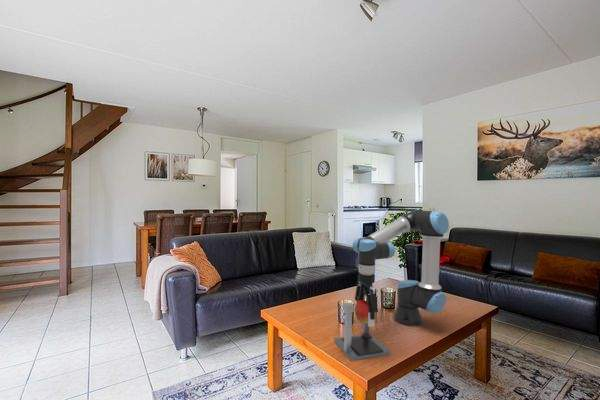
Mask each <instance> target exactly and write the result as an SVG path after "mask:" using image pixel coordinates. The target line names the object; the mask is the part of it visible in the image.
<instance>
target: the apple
mask: <svg viewBox="0 0 600 400" xmlns="http://www.w3.org/2000/svg"><path fill="white" fill-rule="evenodd" d="M368 311H369V306H368V301H367V300H365V299H363V300H359V301H358V302H357V301H356V303H355V304H354V314H355V315H354V316H355V317H356V319H358V321H359V322H360V323H362V324H363V325H364V324H368ZM376 316H377V312H375V318H376Z"/></svg>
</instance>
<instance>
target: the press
mask: <svg viewBox="0 0 600 400" xmlns="http://www.w3.org/2000/svg"><path fill="white" fill-rule="evenodd" d="M342 306H343V307H342V309H343V311H344V329H343V330H344V333H343V336H340V337H334V338H333V339H334V340H333V341H334V342H333V343H335V344H336V345H337V347H338V348H339V349H340V350H341V351H342V352H343V353H344V354H345V356H346V357H347V358H348V359H349V360H350V362H352V361H359V360H365V359H370V358H371V359H372V358H377V357H383V356H384V355H385V356H389V355H388V354H391V353H392V351H391V350H390V349H388V347H387V346H385V345H384V344H383V343H382V342H380V341H379V340H378V339H377V338H376V337H375V336H374V335H372V334H371V337H368V338H364V337H362V336H361V334H356V335H352V333H353V332H352V330H353V329H352V328H353V313H355V304H353V303H352V302H345V303H344V302H343V304H342ZM391 355H392V354H391Z"/></svg>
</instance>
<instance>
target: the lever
mask: <svg viewBox="0 0 600 400" xmlns="http://www.w3.org/2000/svg"><path fill="white" fill-rule="evenodd" d="M360 335H361V336H362V337H364V338H368V337H371V335H372V333H370V327H369V326H368V324H363V333H361V334H360Z"/></svg>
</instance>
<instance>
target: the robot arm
mask: <svg viewBox="0 0 600 400" xmlns="http://www.w3.org/2000/svg"><path fill="white" fill-rule="evenodd" d="M449 226H450V222H449V219H448V216H447V215H446V214H445V213H444V212H443V211H437V210H420V209H419V210H417V209H416V210H412V211H408V212H407V213H404V214H402V215H400V216H398V217H397V218H396V220H395V221H393V222H391V223H389V224H387V225H386V226H384V227H382V228H380V229H378V230H377V231H374V232H373V233H371V234H369V235H368V236H365V237H363V238H361V237H360V238H359V237H356V238H355V239H354V240H353V242H352V246H351V247H352V250H353V251H354V252H356V253H358V266H357V268H358V273H357V274H358V275H357V281H356V289H355V294H354V295H355V296H354V300H355V301H356V303H357V302H358V301H359V300H364V298H365V297H366V301H368V306H369V311H368V326H369V328H370V327H375V319H376V317H375V312H376V313H378V312H379V308H378V307H379V306H378V299H377V297H378V296H377V292H378V291H377V289H376V288H373V283H375V280H376V278H375V277H376V275H375V273H376V260H385V259H390V258H393V257H394V256H395V252H396V249H395V246H394V244H393V243H391V242H389V241H391V240H393V239H394V238H397V237H398V236H400V235H401V234H403V233H405V234H407V233H409V232H411V231H418V232H419V236H420V237H421V239H422V250H421V251H422V254H421V255H422V257H421V260H422V261H421V277H420V278H421V281H418V280H414V279H413V280H412V279H404V280H399V281H398V284H397V302H396V303H397V304H396V305H397V306H396V309H395V312H394V314H393V320H394V321H395V322H397V323H398V324H401V325H404V324H405V326H409V325H416V326H419V325H418V324H420V323H421V324H422V316H421V312H420V309H422V310H424V311H427V312H429V313H433V314H438V313H441V312H442V311H443V309H444V308H445V306H446V302H447V296H446V294H445V293H444V292H443V291H442V286H441V285H440V284H439V282H440V281H439V280H440V279H439V278H440V253H441V250H440V249H441V240H442V239H443V238H444V235H445V234H446V233H448V231H449V228H450V227H449ZM421 324H420V325H421Z"/></svg>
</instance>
